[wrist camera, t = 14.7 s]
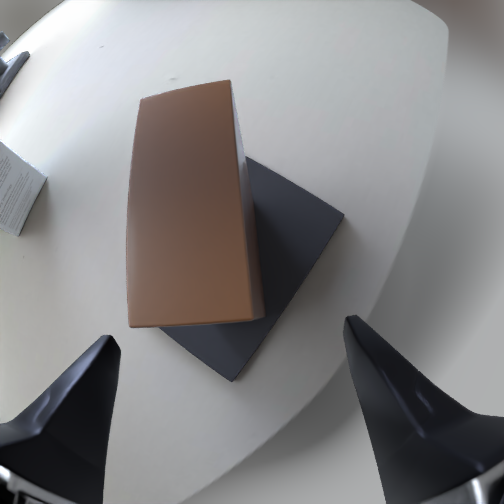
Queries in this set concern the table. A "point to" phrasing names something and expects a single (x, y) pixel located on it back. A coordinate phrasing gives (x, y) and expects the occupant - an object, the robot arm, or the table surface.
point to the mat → (267, 268)
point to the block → (191, 213)
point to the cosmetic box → (16, 189)
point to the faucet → (9, 65)
